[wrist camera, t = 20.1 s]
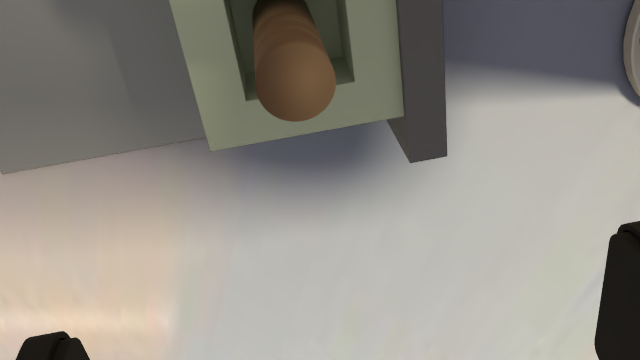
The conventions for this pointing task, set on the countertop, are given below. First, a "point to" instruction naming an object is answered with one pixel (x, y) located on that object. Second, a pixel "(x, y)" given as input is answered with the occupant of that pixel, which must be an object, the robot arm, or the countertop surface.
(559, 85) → the countertop surface
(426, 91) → the grey l-shaped plate
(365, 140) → the countertop surface
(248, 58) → the socket block
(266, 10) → the dowel
